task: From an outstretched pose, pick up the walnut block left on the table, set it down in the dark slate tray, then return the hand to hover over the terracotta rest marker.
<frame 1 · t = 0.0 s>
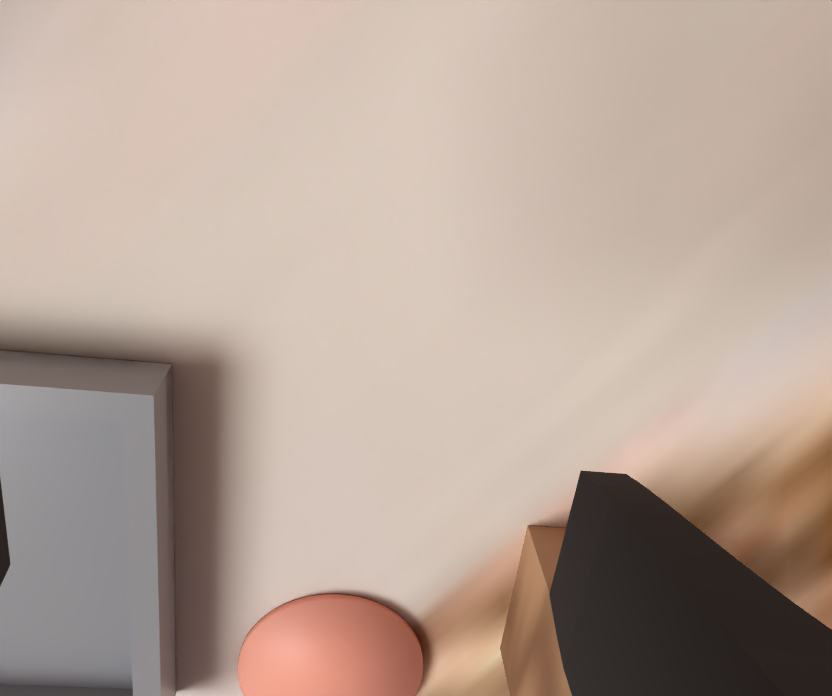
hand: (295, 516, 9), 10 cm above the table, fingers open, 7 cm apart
rest marker: (331, 665, 24), on the table
walnut block: (588, 592, 23), on the table
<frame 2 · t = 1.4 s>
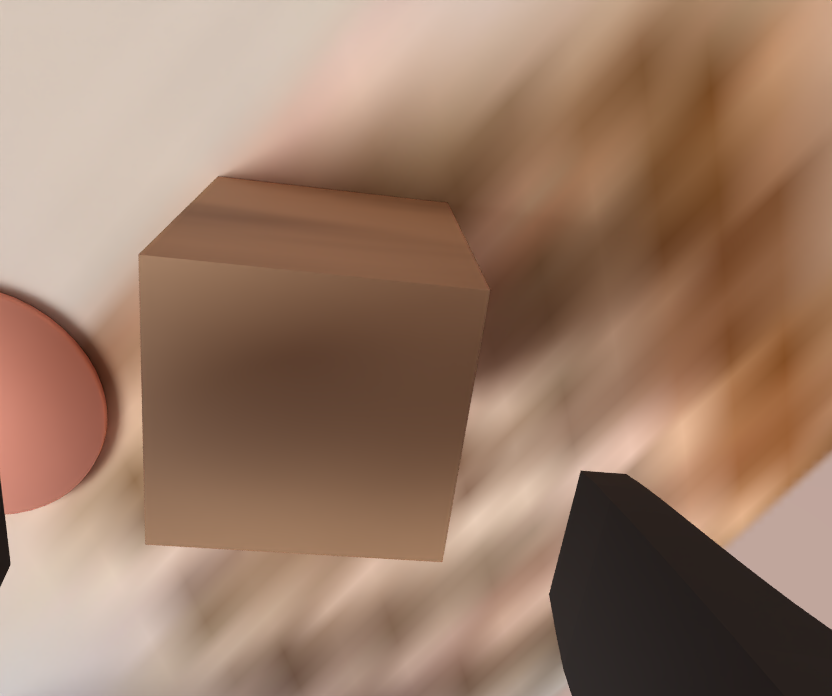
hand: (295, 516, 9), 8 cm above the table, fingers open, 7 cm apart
walnut block: (326, 296, 17), on the table
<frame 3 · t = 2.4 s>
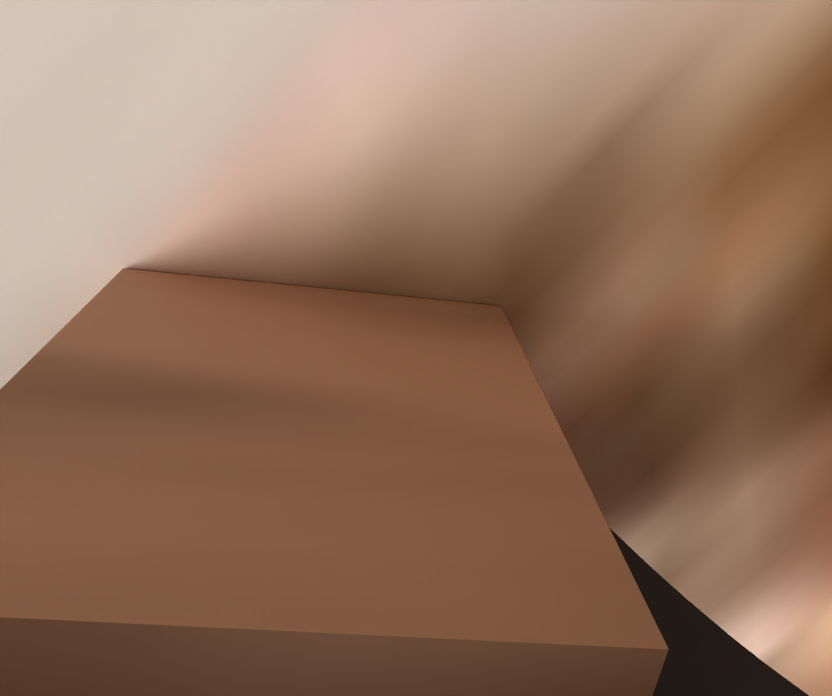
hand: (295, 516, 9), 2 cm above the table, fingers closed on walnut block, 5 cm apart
walnut block: (305, 448, 11), on the table, touching gripper
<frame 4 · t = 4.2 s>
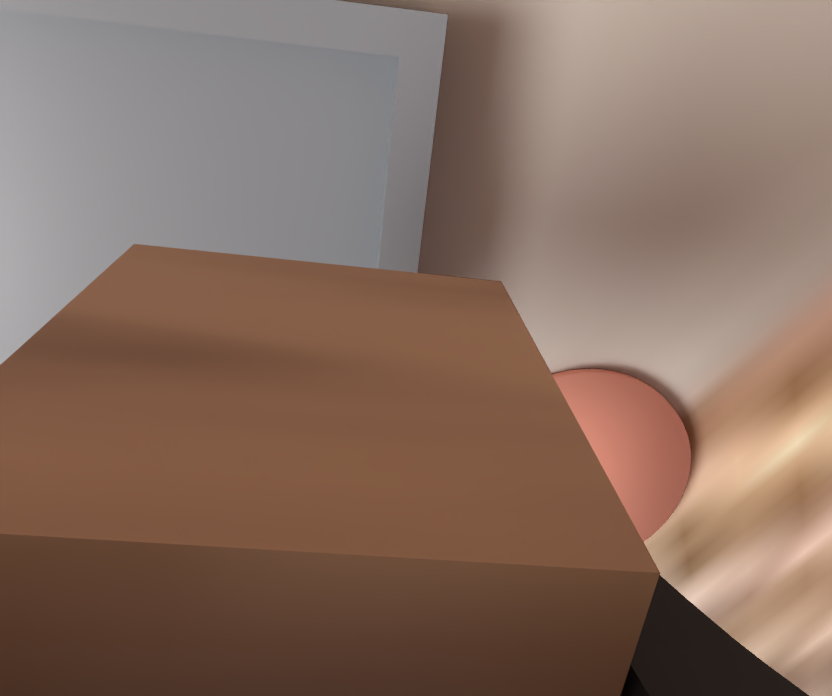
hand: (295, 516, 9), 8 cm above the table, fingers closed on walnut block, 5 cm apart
rest marker: (575, 470, 19), on the table
slate tray: (143, 272, 16), on the table
walnut block: (310, 422, 11), point 6 cm above the table, touching gripper
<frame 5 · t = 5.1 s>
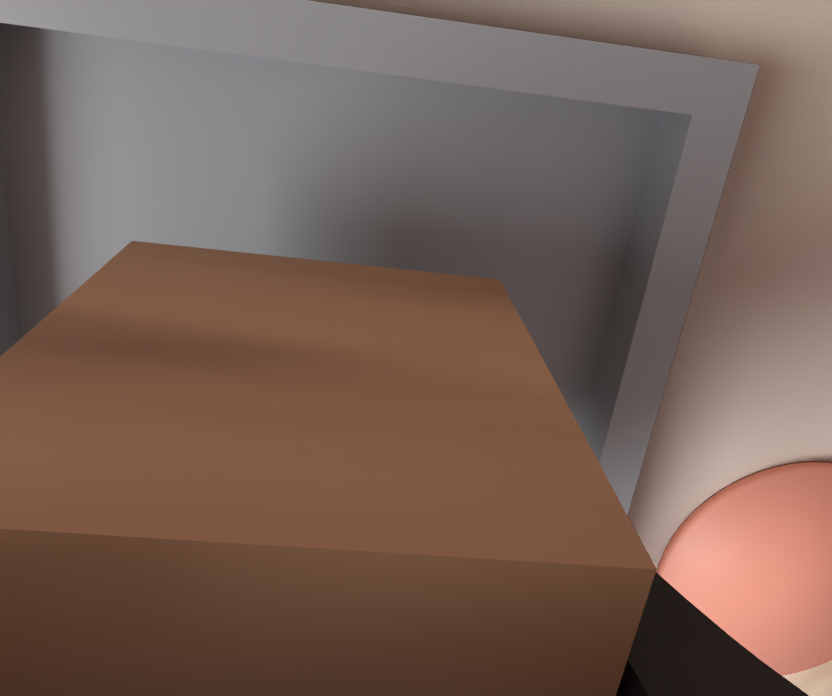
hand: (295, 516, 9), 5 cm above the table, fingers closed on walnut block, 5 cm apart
rest marker: (781, 572, 17), on the table
slate tray: (320, 352, 14), on the table
walnut block: (308, 420, 11), point 3 cm above the table, touching gripper
when the fingers open (4 cm above the table, at t = 5.8 s): walnut block drops 2 cm, resting on slate tray.
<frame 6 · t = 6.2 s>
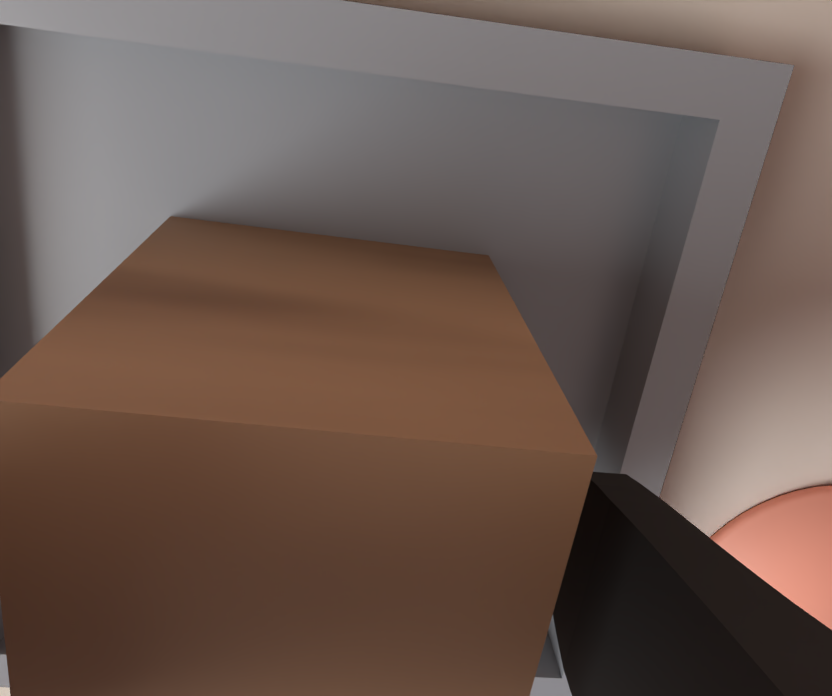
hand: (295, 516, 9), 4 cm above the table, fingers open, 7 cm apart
rest marker: (803, 599, 16), on the table
slate tray: (316, 372, 13), on the table
walnut block: (319, 378, 12), point 1 cm above the table, touching slate tray
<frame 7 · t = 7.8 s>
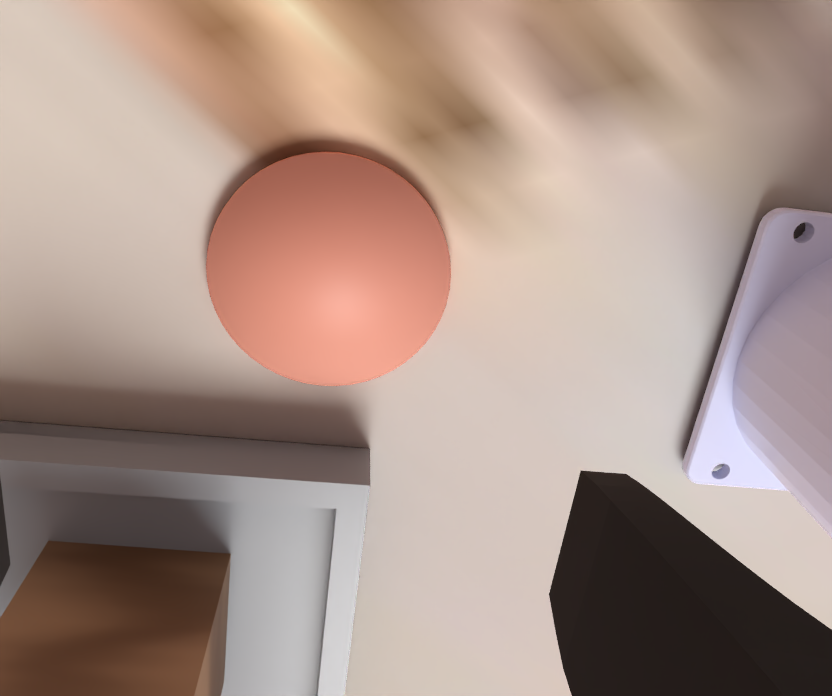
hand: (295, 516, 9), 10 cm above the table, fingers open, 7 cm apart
rest marker: (330, 273, 18), on the table
slate tray: (153, 602, 22), on the table
walnut block: (141, 614, 21), point 1 cm above the table, touching slate tray
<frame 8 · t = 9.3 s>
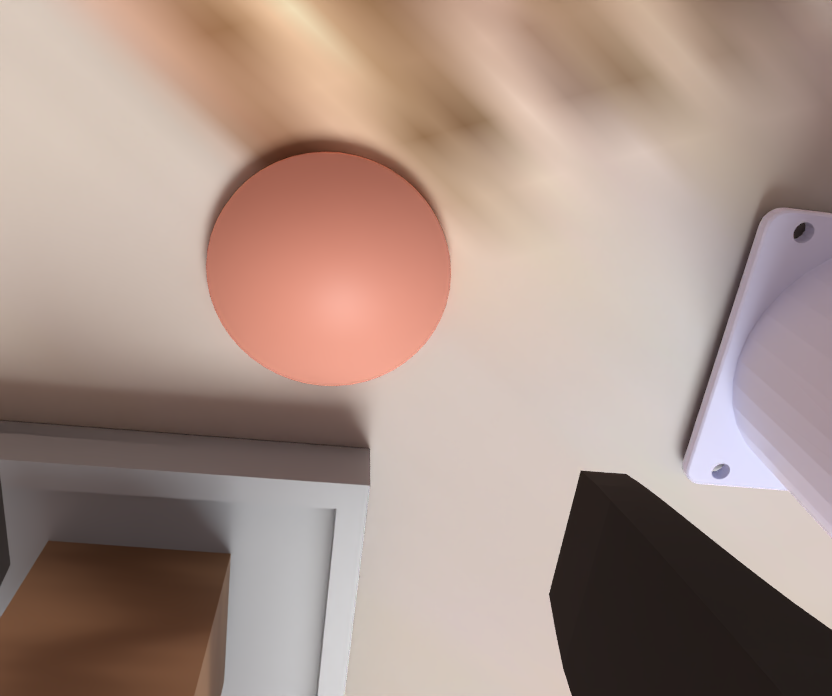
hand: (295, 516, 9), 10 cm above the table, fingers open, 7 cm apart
rest marker: (330, 273, 18), on the table
slate tray: (153, 602, 22), on the table
walnut block: (141, 614, 21), point 1 cm above the table, touching slate tray
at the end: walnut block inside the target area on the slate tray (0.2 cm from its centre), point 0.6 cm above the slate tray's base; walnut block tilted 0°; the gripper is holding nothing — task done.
